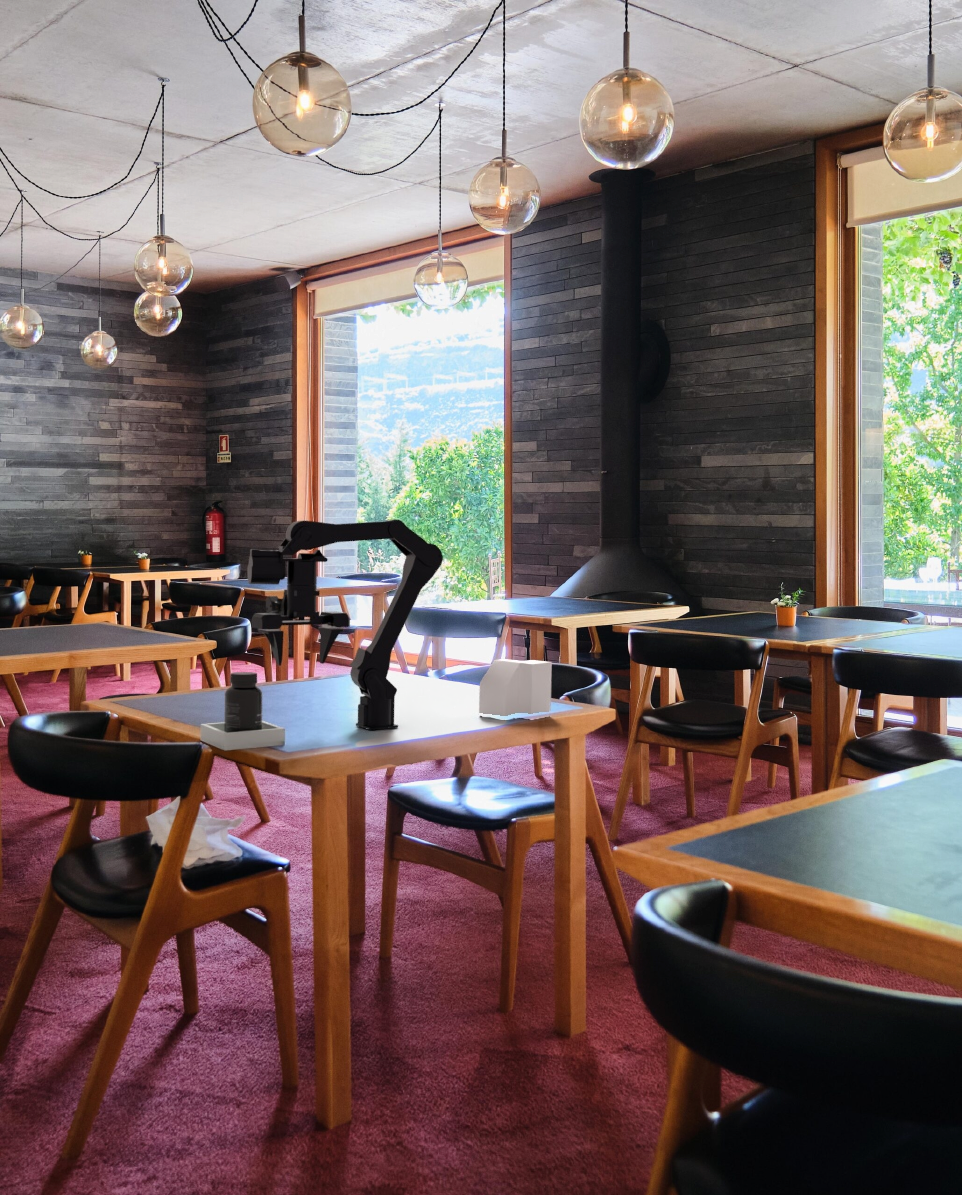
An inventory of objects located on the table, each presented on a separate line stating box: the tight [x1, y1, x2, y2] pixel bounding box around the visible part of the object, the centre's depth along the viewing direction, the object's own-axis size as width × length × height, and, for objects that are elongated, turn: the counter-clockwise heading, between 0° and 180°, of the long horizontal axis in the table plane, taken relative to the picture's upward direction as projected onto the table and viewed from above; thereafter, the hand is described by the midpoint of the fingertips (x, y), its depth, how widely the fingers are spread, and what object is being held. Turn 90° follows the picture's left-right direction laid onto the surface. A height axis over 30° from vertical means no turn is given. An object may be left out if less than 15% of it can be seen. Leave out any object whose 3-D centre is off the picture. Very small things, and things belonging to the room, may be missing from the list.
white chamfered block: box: [478, 658, 553, 716], centre depth 245 cm, size 11×11×12 cm
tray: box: [200, 720, 286, 752], centre depth 209 cm, size 12×12×3 cm
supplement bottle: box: [223, 671, 263, 733], centre depth 209 cm, size 7×7×12 cm
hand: (300, 664), depth 222 cm, fingers open, 9 cm apart
